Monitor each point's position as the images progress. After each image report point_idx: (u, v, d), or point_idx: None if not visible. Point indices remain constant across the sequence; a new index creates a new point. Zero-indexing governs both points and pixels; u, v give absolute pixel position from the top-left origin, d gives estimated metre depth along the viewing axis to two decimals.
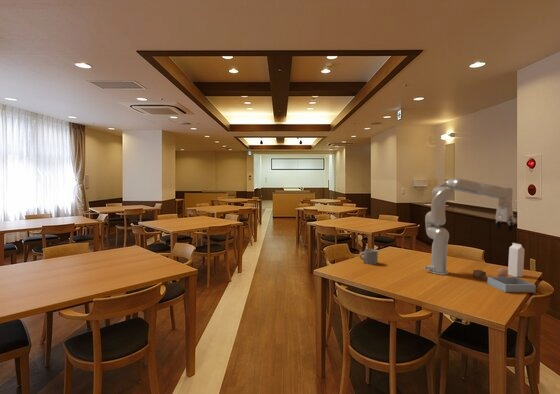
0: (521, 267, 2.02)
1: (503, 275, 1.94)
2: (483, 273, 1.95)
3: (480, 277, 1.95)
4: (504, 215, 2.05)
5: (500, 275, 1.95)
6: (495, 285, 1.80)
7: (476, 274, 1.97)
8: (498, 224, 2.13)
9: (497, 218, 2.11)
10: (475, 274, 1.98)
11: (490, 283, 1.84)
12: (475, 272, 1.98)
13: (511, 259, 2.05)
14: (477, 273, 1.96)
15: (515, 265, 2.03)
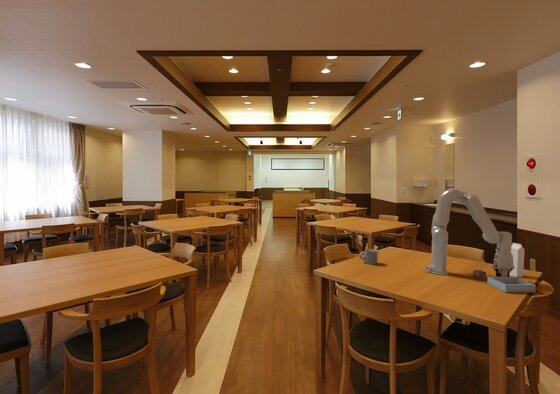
0: (521, 267, 2.02)
1: (503, 275, 1.94)
2: (483, 273, 1.95)
3: (480, 277, 1.95)
4: (510, 262, 1.93)
5: None
6: (495, 285, 1.80)
7: (476, 274, 1.97)
8: None
9: (502, 266, 1.93)
10: (475, 274, 1.98)
11: (490, 283, 1.84)
12: (475, 272, 1.98)
13: None
14: (477, 273, 1.96)
15: (515, 265, 2.03)
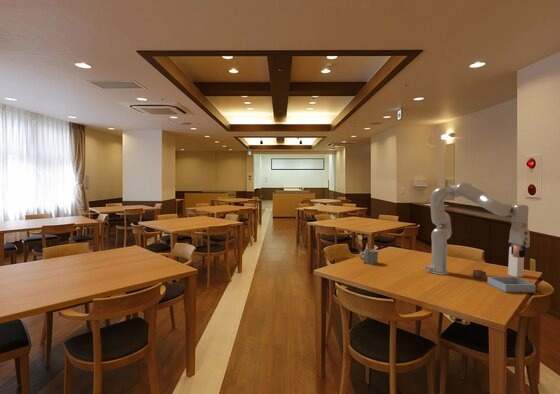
0: (521, 267, 2.02)
1: None
2: (483, 273, 1.95)
3: (480, 277, 1.95)
4: None
5: None
6: (495, 285, 1.80)
7: (476, 274, 1.97)
8: None
9: None
10: (475, 274, 1.98)
11: (490, 283, 1.84)
12: (475, 272, 1.98)
13: (511, 259, 2.05)
14: (477, 273, 1.96)
15: (515, 265, 2.03)
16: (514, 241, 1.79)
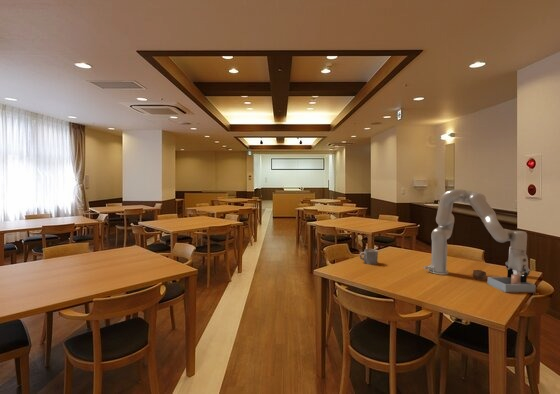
0: None
1: None
2: (483, 273, 1.95)
3: (480, 277, 1.95)
4: None
5: (520, 283, 1.78)
6: (495, 285, 1.80)
7: (476, 274, 1.97)
8: None
9: None
10: (475, 274, 1.98)
11: (490, 283, 1.84)
12: (475, 272, 1.98)
13: None
14: (477, 273, 1.96)
15: None
16: (513, 267, 1.80)
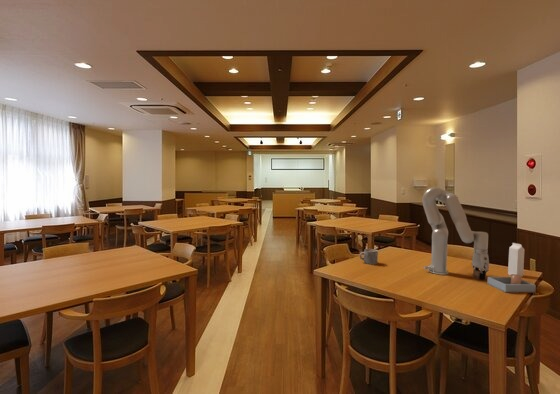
0: (521, 267, 2.02)
1: None
2: None
3: None
4: None
5: (520, 283, 1.78)
6: (495, 285, 1.80)
7: (476, 274, 1.97)
8: None
9: None
10: (475, 274, 1.98)
11: (490, 283, 1.84)
12: (475, 272, 1.98)
13: (511, 259, 2.05)
14: (477, 273, 1.96)
15: (515, 265, 2.03)
16: (476, 265, 1.98)
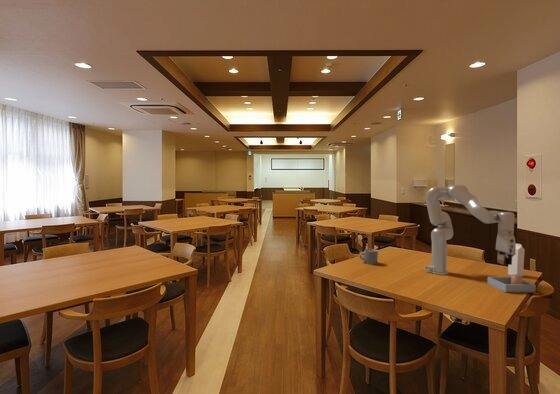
0: (521, 267, 2.02)
1: None
2: None
3: None
4: None
5: (520, 283, 1.78)
6: (495, 285, 1.80)
7: (501, 258, 1.78)
8: None
9: None
10: (500, 258, 1.79)
11: (490, 283, 1.84)
12: (500, 256, 1.79)
13: None
14: (502, 257, 1.77)
15: (515, 265, 2.03)
16: (500, 248, 1.79)
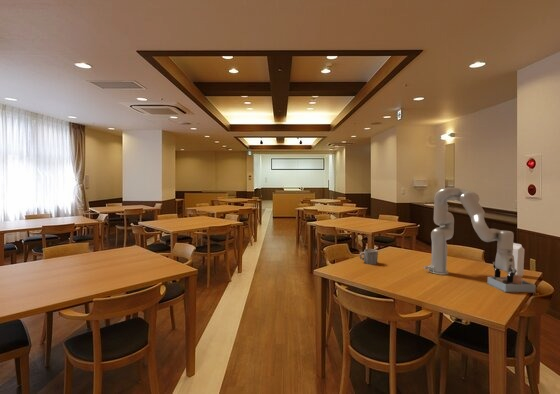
0: (521, 267, 2.02)
1: None
2: None
3: None
4: None
5: (520, 283, 1.78)
6: (495, 285, 1.80)
7: None
8: None
9: None
10: None
11: (490, 283, 1.84)
12: (498, 280, 1.80)
13: None
14: (501, 281, 1.78)
15: (515, 265, 2.03)
16: (499, 267, 1.79)
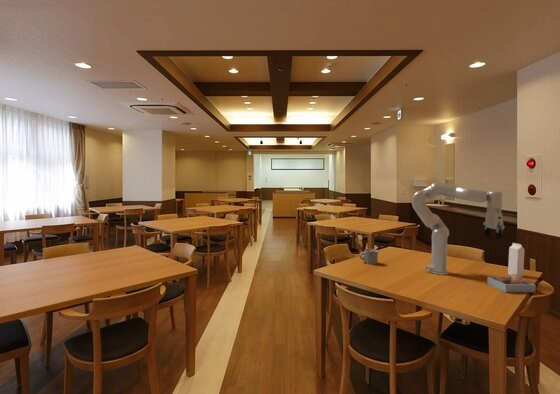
0: (521, 267, 2.02)
1: (521, 282, 1.78)
2: (508, 281, 1.77)
3: None
4: None
5: (519, 283, 1.77)
6: (495, 285, 1.80)
7: None
8: None
9: None
10: None
11: (490, 283, 1.84)
12: (498, 280, 1.80)
13: (511, 259, 2.05)
14: (501, 281, 1.78)
15: (515, 265, 2.03)
16: (489, 225, 1.91)
